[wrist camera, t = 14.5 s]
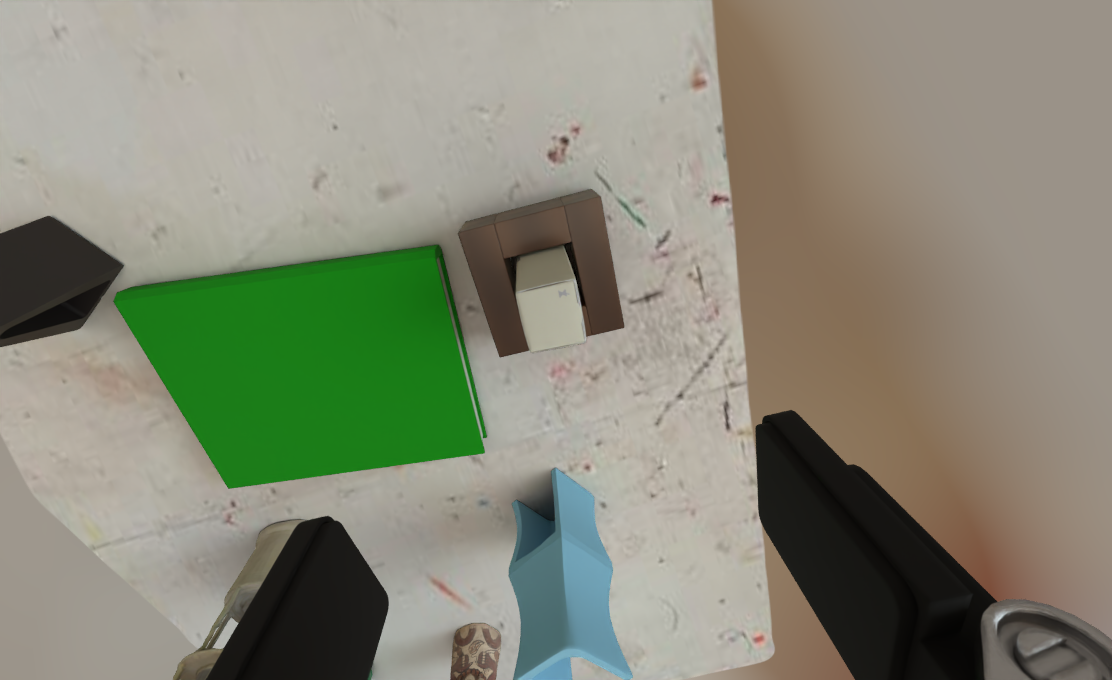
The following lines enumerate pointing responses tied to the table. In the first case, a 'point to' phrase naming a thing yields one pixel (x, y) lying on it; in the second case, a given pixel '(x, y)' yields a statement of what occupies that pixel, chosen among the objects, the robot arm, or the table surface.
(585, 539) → the vase
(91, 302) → the phone stand
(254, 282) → the book
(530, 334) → the box
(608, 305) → the brown frame
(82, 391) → the table surface
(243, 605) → the lamp
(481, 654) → the figurine
